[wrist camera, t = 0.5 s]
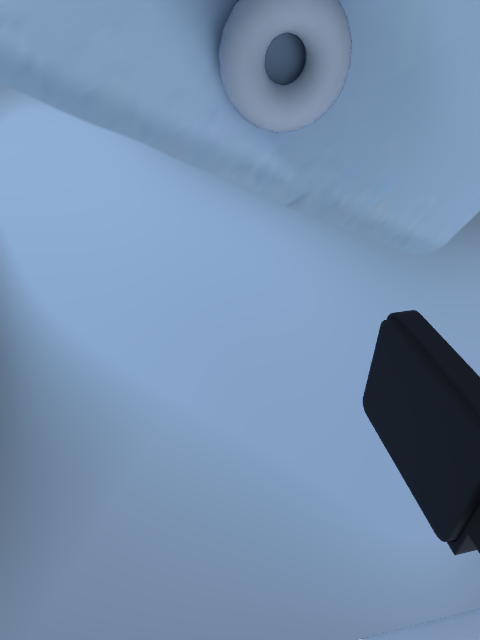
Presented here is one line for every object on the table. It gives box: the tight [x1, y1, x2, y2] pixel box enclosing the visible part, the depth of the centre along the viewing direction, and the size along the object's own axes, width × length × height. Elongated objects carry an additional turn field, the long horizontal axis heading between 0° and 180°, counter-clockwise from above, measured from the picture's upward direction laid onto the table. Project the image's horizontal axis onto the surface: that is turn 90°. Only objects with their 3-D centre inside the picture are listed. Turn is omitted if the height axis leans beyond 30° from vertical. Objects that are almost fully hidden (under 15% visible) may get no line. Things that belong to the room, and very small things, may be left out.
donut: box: [219, 0, 352, 132], centre depth 32 cm, size 10×3×10 cm
